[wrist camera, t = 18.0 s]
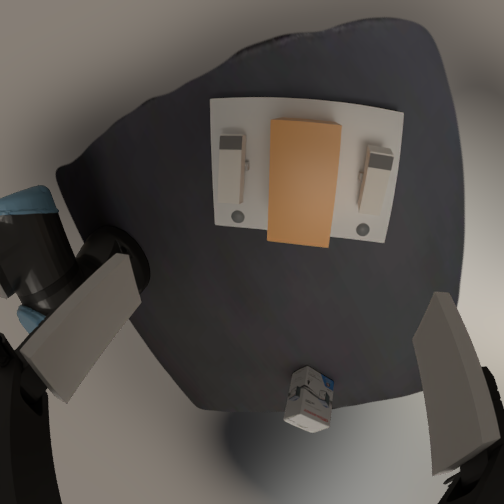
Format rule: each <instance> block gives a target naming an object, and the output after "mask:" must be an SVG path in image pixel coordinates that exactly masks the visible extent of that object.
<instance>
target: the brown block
mask: <svg viewBox="0 0 504 504" xmlns="http://www.w3.org/2000/svg"><path fill="white" fill-rule="evenodd" d="M341 130H342V125H340V124H338V123H336V122H332V121H323V120H313V119H301V118H285V117H280V118H276V119H271V124H270V167H269V201H268V230H267V241H273V242H282V243H291V244H299V245H308V246H316V247H325V248H328V246H329V239H330V232H331V225H332V218H333V211H334V203H335V194H336V186H337V176H338V166H339V156H340V144H341Z"/></svg>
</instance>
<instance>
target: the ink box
mask: <svg viewBox="0 0 504 504" xmlns="http://www.w3.org/2000/svg"><path fill="white" fill-rule="evenodd" d="M333 385H334V381H332V380H330V379H329V378H327V377H325V376H324V375H322V374H320V373H319V372H317V371H315V370H314V369H312V368H311V367H309V366H306V367H304V368H301V369H299V370H297V371H296V372H294V373H293V374H292V379H291V385H290V390H289V395H288V400H287V404H286V409H285V414H284V420H285V421H286V422H287V423H290V424H292V425H294V426H296V427H299V428H301V429H303V430H306V431H308V432H311V433H313V432H317V431H320V430H323V429H326V428H329V427H330V420H331V409H332V398H333Z"/></svg>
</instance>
